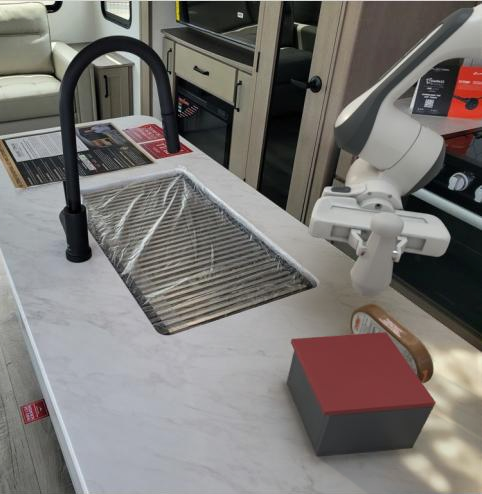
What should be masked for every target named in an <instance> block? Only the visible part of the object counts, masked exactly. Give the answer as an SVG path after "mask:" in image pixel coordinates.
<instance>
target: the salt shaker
mask: <svg viewBox="0 0 482 494" xmlns="http://www.w3.org/2000/svg"><path fill="white" fill-rule="evenodd" d="M370 228H371V231H372V233H371V235H370V237H369V239H368V241H367V243H366V248H367V250H366V252H365V254H364V256H357V259H356V260H355V262H354V264H353V266H352V268H351V269H350V281H351V286H352V289H353V290H354V291H356V292H357V293H358V294H359V295H361V296H366V297H372V298H375V297H376V296H378V295H379V294H381V293H382V292H383V291H385V290H386V289H387V288H388V287H389V286H390V285H391V283H392V278H393V277H392V276H393V268H394V261H392V253H393V251H394V250H395V241H396V237H398V236H399V235H400V234H401V232H402V231H403V228H404V222H403V220H402V219H401V218H400V217H399V216H398V215H395V214H393V213H388V212H381V213H377V214H375V215H374V216H373V218H372V220H371V222H370Z"/></svg>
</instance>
